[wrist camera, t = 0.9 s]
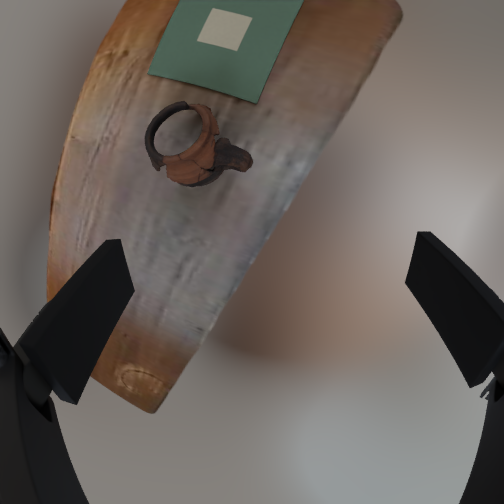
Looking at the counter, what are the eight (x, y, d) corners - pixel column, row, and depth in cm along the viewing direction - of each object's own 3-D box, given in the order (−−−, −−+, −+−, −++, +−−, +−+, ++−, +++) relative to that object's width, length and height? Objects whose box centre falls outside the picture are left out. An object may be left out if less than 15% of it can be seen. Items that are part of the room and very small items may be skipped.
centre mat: (196, -28, 19) (196, -29, 19) (304, -1, 21) (304, -2, 21) (148, 74, 26) (146, 73, 26) (256, 104, 28) (256, 103, 28)
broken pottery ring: (161, 186, 34) (126, 167, 26) (183, 121, 33) (156, 90, 25) (250, 204, 32) (233, 186, 23) (270, 132, 31) (260, 97, 23)
